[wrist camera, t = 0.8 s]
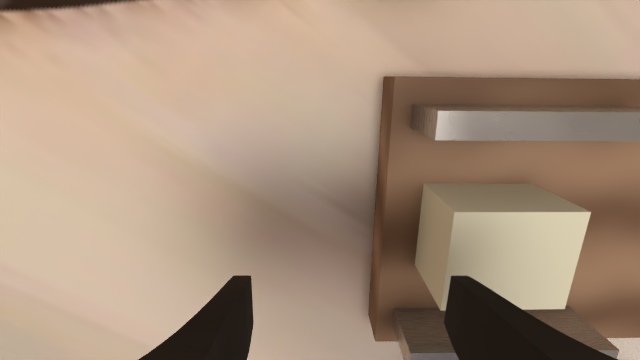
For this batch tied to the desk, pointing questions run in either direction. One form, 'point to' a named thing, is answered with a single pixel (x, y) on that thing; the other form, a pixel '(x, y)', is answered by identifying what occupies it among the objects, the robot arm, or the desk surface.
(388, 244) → the tunnel board
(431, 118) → the tunnel walls
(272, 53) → the desk surface
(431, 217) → the sage block
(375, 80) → the desk surface
